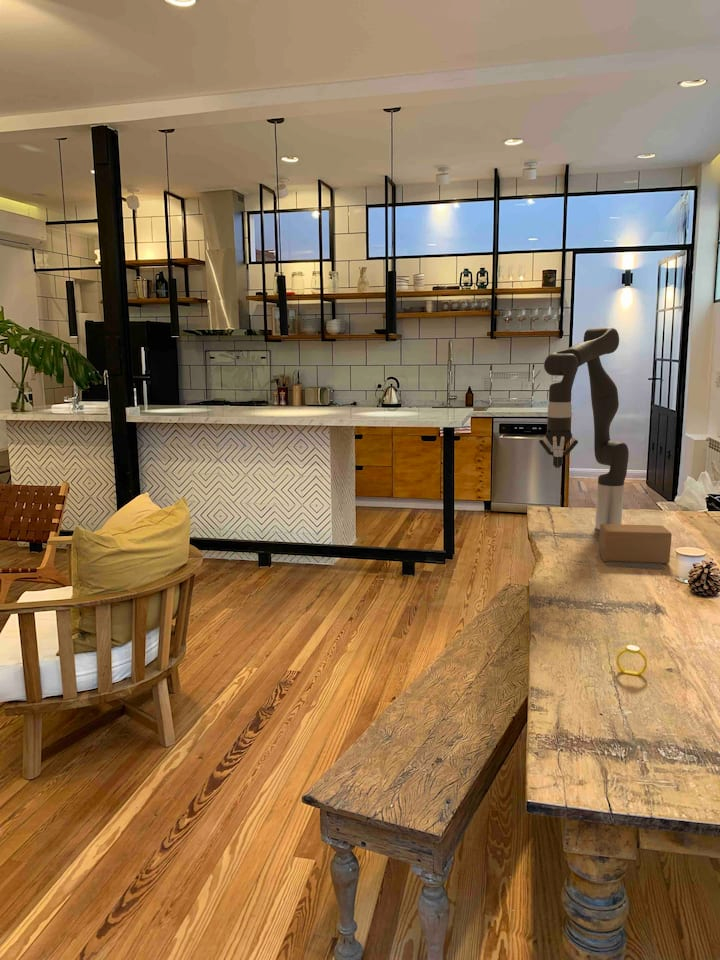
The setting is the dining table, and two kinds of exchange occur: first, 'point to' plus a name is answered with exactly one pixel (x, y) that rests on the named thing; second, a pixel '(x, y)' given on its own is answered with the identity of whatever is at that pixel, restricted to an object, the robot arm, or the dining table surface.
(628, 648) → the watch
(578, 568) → the dining table surface
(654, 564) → the charcoal mat
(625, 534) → the wooden block
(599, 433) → the robot arm
